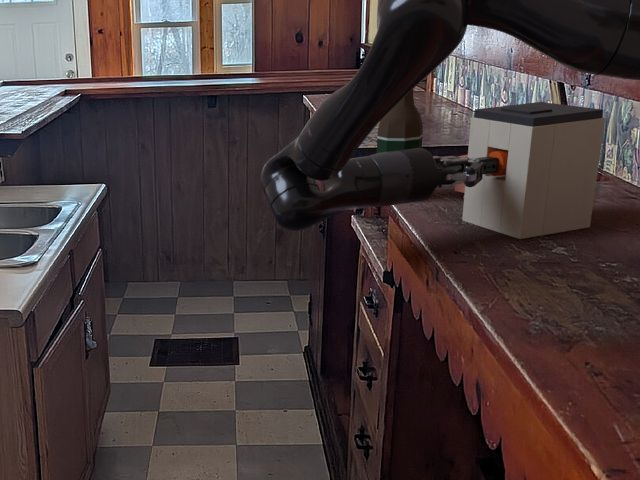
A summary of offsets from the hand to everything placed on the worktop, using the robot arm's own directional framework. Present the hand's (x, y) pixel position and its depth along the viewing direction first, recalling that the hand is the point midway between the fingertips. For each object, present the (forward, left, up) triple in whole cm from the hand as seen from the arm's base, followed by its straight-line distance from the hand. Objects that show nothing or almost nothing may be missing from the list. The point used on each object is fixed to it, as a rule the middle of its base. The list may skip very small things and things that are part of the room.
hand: (494, 164), depth 128 cm
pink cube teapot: (+8, -21, -10) cm, 25 cm away
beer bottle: (+22, -14, -10) cm, 28 cm away
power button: (-1, -2, -2) cm, 3 cm away
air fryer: (-3, -6, -10) cm, 12 cm away
